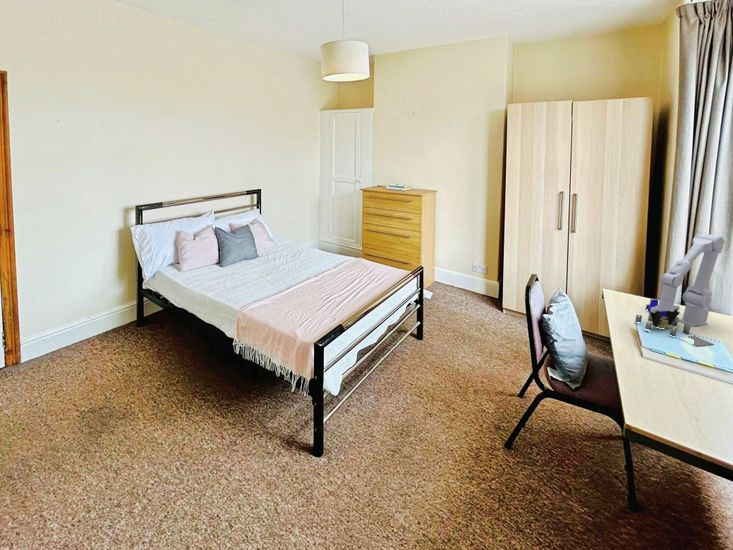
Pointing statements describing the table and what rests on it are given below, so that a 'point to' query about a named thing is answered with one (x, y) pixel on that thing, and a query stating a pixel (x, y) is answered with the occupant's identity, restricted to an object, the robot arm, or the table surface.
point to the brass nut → (663, 323)
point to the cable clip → (653, 304)
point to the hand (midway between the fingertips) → (661, 325)
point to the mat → (699, 341)
